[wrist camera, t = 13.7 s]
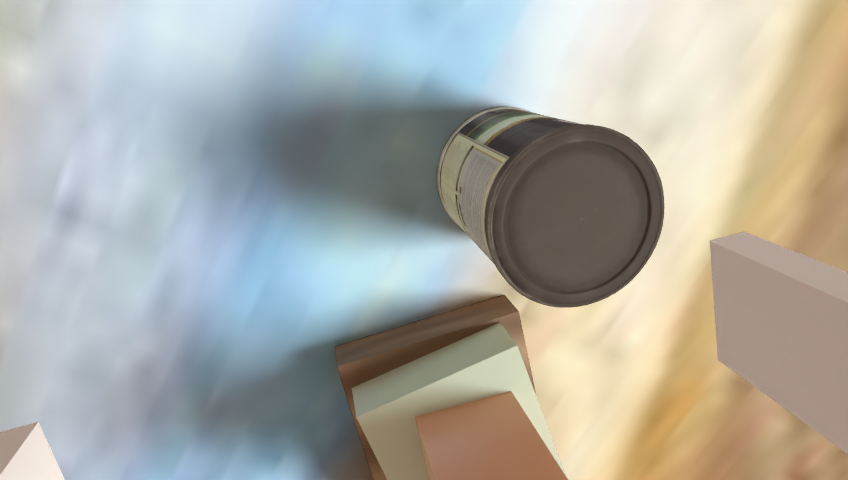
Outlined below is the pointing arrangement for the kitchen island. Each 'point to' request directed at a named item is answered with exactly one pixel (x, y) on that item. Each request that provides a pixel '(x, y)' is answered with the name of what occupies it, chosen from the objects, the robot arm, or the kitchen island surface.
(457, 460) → the terracotta block
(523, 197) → the coffee can
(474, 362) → the sage block
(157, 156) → the kitchen island surface
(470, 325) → the walnut block
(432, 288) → the kitchen island surface
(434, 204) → the kitchen island surface
